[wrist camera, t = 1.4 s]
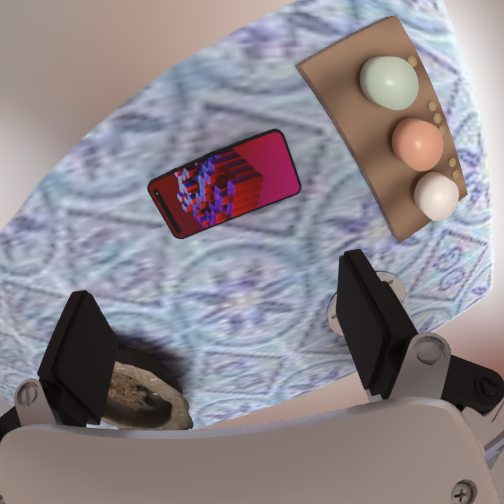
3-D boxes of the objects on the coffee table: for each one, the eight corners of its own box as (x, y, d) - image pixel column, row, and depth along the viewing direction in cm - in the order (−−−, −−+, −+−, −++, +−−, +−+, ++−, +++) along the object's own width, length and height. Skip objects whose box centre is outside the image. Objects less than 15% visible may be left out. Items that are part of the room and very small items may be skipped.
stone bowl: (208, 404, 56) (205, 445, 48) (99, 395, 56) (89, 430, 48) (182, 325, 41) (172, 381, 34) (44, 319, 42) (23, 361, 34)
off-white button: (450, 197, 31) (462, 206, 29) (420, 218, 32) (431, 228, 30) (440, 163, 28) (453, 171, 26) (408, 186, 30) (420, 195, 28)
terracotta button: (435, 149, 27) (448, 156, 25) (402, 171, 29) (414, 180, 27) (420, 109, 25) (433, 114, 23) (384, 131, 26) (396, 138, 24)
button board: (458, 188, 34) (468, 195, 32) (392, 234, 37) (400, 243, 35) (386, 17, 22) (397, 15, 20) (295, 66, 25) (300, 65, 23)
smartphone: (303, 193, 32) (177, 242, 34) (301, 189, 33) (178, 238, 35) (281, 126, 28) (143, 184, 30) (279, 125, 29) (145, 181, 30)
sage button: (412, 92, 24) (426, 95, 22) (375, 115, 25) (387, 119, 23) (390, 48, 21) (403, 48, 19) (350, 70, 23) (361, 71, 21)
